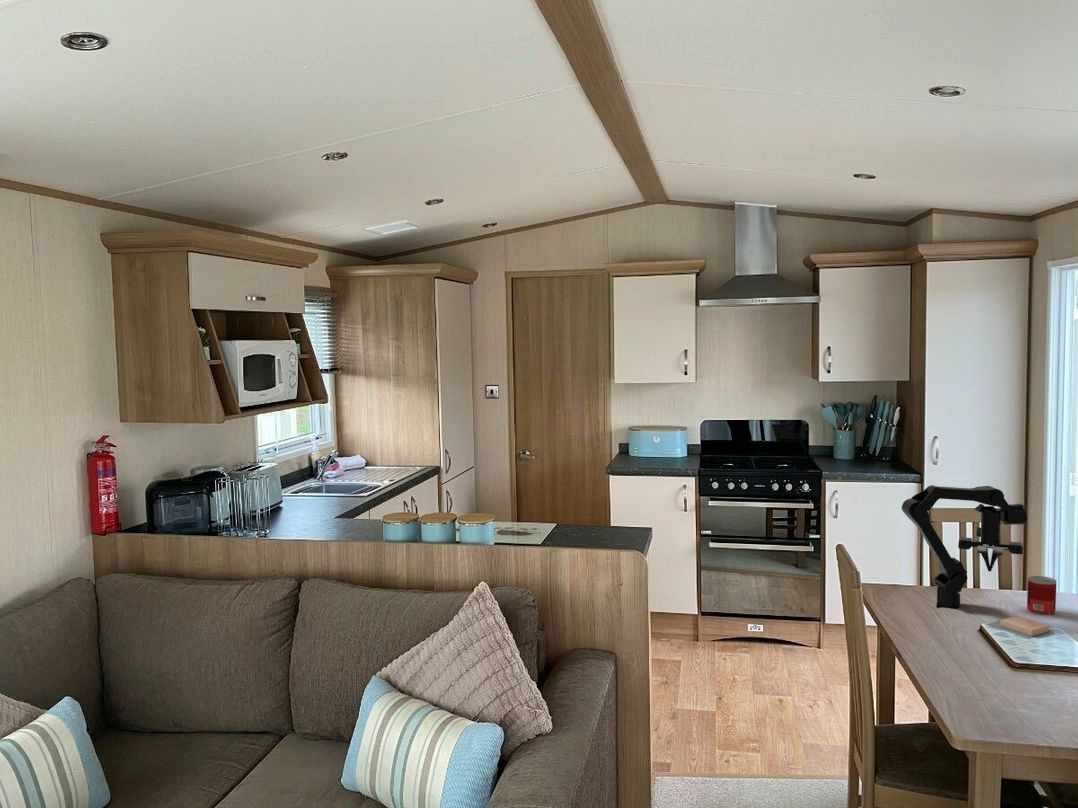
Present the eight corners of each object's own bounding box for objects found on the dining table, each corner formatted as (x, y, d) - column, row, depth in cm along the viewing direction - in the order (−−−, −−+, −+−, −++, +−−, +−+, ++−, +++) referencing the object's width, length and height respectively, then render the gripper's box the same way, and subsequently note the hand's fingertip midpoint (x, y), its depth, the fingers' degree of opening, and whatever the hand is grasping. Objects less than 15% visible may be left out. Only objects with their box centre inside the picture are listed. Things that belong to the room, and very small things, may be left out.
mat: (985, 625, 262) (985, 624, 262) (1010, 619, 267) (1010, 617, 267) (1028, 640, 249) (1028, 638, 249) (1053, 633, 254) (1054, 631, 254)
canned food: (1060, 615, 269) (1061, 582, 268) (1035, 616, 269) (1036, 582, 268) (1046, 608, 277) (1047, 575, 276) (1022, 608, 277) (1023, 575, 276)
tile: (1000, 620, 259) (1031, 630, 250) (1016, 616, 263) (1048, 625, 254) (1000, 626, 259) (1031, 636, 250) (1016, 622, 263) (1048, 632, 254)
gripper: (1023, 522, 280) (1021, 568, 281) (960, 517, 289) (959, 561, 290) (1023, 529, 270) (1022, 577, 271) (958, 524, 279) (957, 570, 281)
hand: (989, 571), depth 279 cm, fingers closed
